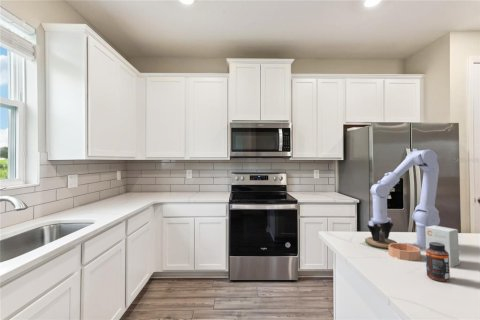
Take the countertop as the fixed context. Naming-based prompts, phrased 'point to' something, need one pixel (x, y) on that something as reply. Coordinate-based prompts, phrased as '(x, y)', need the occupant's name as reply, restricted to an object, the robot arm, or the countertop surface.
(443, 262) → the supplement bottle
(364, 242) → the mat
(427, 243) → the small box
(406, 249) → the bowl
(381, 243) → the lid
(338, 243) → the countertop surface
